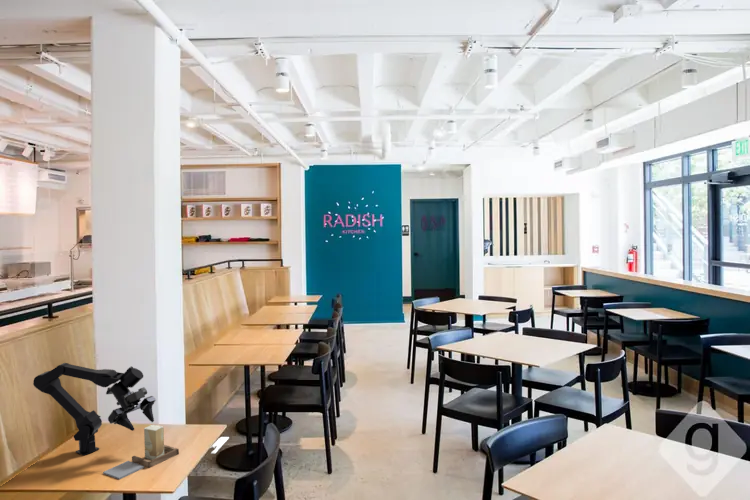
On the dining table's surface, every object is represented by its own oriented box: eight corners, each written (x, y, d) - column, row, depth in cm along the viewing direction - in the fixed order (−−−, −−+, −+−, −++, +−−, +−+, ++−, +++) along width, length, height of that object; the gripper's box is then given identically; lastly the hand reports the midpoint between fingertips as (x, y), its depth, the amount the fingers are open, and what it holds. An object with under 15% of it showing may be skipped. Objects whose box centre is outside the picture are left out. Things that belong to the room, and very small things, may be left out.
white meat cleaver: (202, 454, 199) (202, 451, 199) (218, 439, 214) (217, 436, 214) (215, 454, 199) (214, 451, 199) (229, 439, 214) (229, 436, 213)
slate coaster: (103, 473, 185) (103, 471, 185) (128, 462, 193) (128, 460, 193) (119, 479, 180) (119, 477, 180) (144, 467, 188) (144, 466, 188)
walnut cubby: (132, 461, 194) (131, 456, 194) (161, 448, 205) (160, 443, 205) (149, 467, 188) (149, 462, 188) (178, 453, 200) (178, 448, 199)
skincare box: (144, 458, 196) (142, 428, 196) (153, 454, 200) (151, 424, 200) (156, 461, 194) (155, 430, 193) (165, 456, 198) (163, 426, 197)
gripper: (111, 390, 192) (132, 422, 188) (151, 376, 209) (171, 405, 205) (98, 407, 196) (119, 439, 192) (139, 393, 213) (159, 421, 208)
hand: (143, 425), depth 199 cm, fingers open, 9 cm apart
